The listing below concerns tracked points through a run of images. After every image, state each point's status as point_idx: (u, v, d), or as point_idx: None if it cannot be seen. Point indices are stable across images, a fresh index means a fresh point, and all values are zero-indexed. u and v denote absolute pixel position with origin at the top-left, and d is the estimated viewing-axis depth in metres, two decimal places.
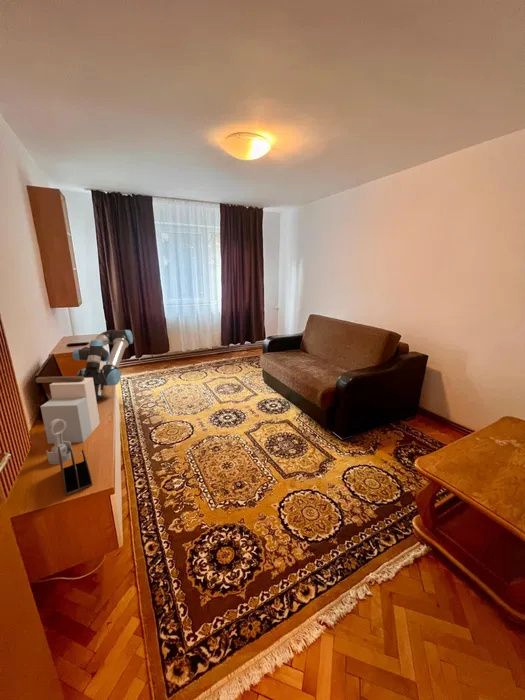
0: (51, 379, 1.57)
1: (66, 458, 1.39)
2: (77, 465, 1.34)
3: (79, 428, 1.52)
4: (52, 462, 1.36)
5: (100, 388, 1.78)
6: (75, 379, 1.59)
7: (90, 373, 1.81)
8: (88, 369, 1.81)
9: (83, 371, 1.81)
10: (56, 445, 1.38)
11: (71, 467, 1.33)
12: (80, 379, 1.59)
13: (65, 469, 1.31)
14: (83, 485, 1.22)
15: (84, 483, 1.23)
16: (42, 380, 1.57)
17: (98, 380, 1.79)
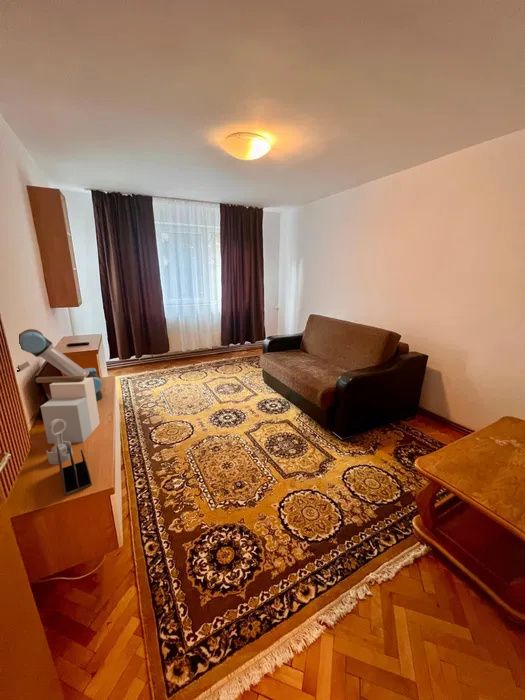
0: (51, 379, 1.57)
1: (66, 458, 1.39)
2: (76, 465, 1.34)
3: (79, 428, 1.52)
4: (52, 462, 1.36)
5: None
6: (75, 379, 1.59)
7: None
8: None
9: None
10: (56, 445, 1.38)
11: (70, 467, 1.33)
12: (80, 379, 1.59)
13: (64, 469, 1.31)
14: (82, 485, 1.22)
15: (83, 483, 1.23)
16: (42, 380, 1.57)
17: None
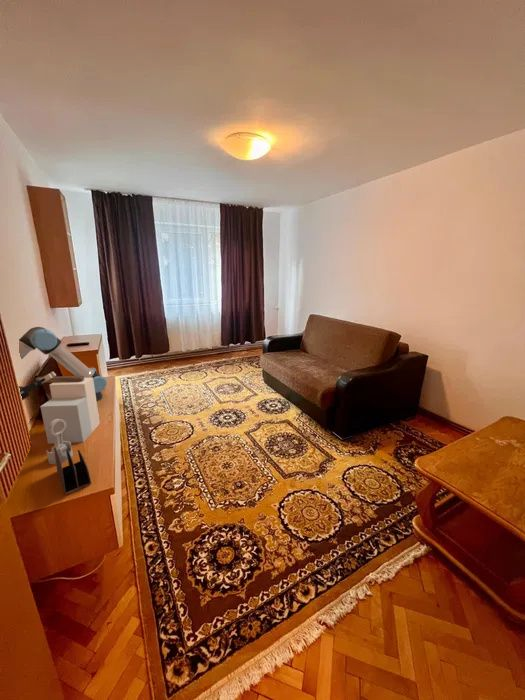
0: (51, 379, 1.57)
1: (66, 458, 1.39)
2: (73, 465, 1.34)
3: (79, 428, 1.52)
4: (52, 462, 1.36)
5: None
6: (75, 379, 1.59)
7: (29, 390, 1.59)
8: None
9: None
10: (56, 445, 1.38)
11: (67, 467, 1.33)
12: (80, 379, 1.59)
13: None
14: (82, 484, 1.22)
15: (83, 482, 1.23)
16: None
17: None
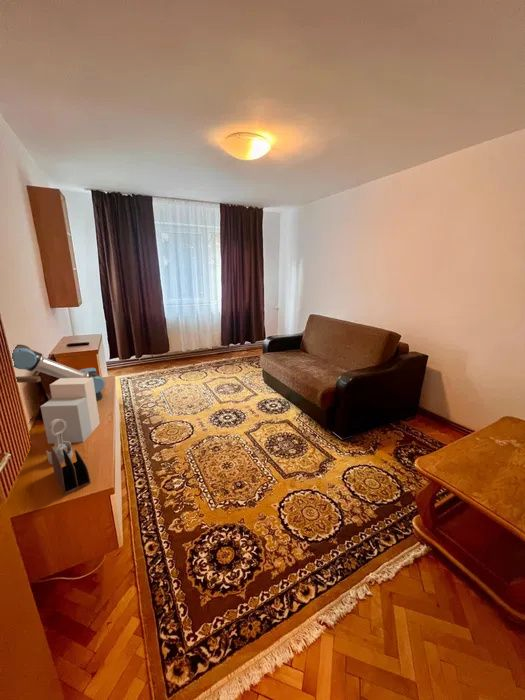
0: None
1: None
2: None
3: (79, 428, 1.52)
4: None
5: None
6: (30, 379, 1.47)
7: None
8: None
9: None
10: (56, 445, 1.38)
11: (64, 468, 1.32)
12: (35, 379, 1.47)
13: None
14: (81, 483, 1.23)
15: (82, 482, 1.24)
16: None
17: None
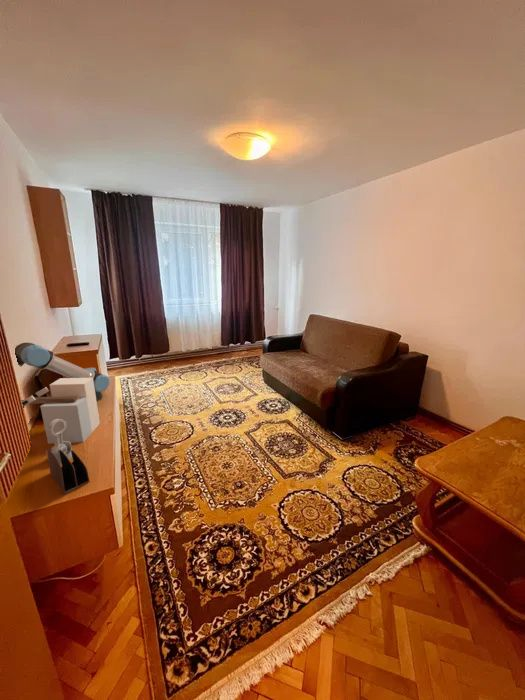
0: (42, 400, 1.50)
1: None
2: None
3: (79, 428, 1.52)
4: None
5: (27, 402, 1.45)
6: (67, 400, 1.51)
7: None
8: None
9: None
10: (56, 445, 1.38)
11: None
12: (73, 400, 1.52)
13: None
14: (80, 483, 1.23)
15: (81, 481, 1.24)
16: None
17: None
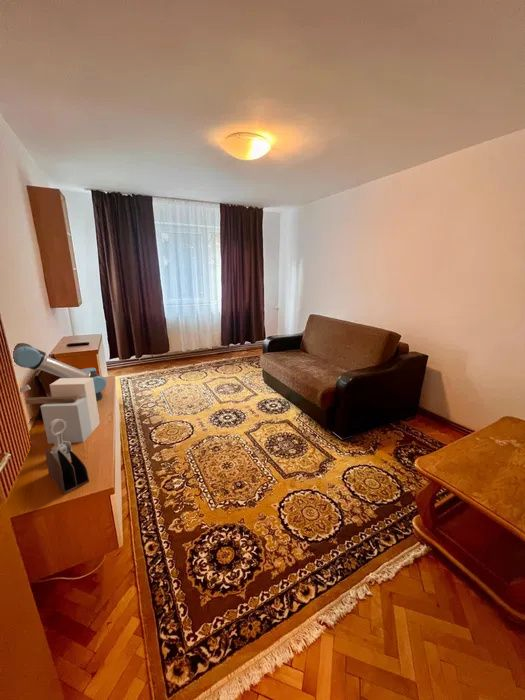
0: (42, 400, 1.50)
1: None
2: None
3: (79, 428, 1.52)
4: None
5: None
6: (67, 400, 1.51)
7: None
8: None
9: None
10: (56, 445, 1.38)
11: None
12: (73, 400, 1.52)
13: None
14: (80, 482, 1.23)
15: (80, 480, 1.24)
16: (32, 401, 1.50)
17: None
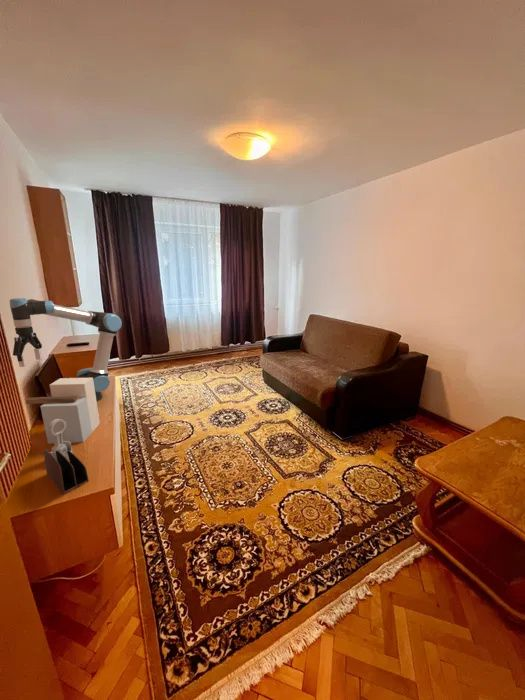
0: (42, 400, 1.50)
1: (66, 458, 1.39)
2: None
3: (79, 428, 1.52)
4: None
5: None
6: (67, 400, 1.51)
7: None
8: None
9: None
10: (56, 445, 1.38)
11: None
12: (73, 400, 1.52)
13: None
14: (79, 482, 1.24)
15: (80, 480, 1.25)
16: (32, 401, 1.50)
17: None
